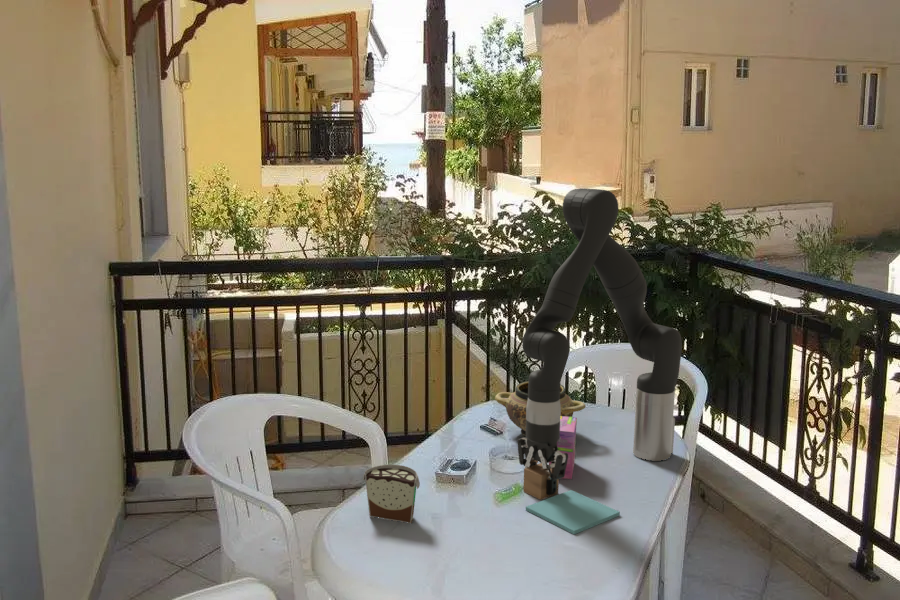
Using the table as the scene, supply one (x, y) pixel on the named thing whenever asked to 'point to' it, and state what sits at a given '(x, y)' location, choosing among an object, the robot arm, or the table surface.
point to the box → (567, 442)
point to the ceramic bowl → (519, 403)
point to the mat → (572, 511)
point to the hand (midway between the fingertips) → (540, 489)
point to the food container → (391, 492)
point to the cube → (537, 481)
